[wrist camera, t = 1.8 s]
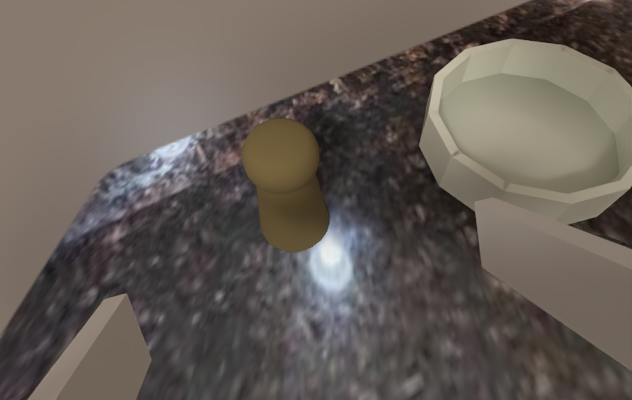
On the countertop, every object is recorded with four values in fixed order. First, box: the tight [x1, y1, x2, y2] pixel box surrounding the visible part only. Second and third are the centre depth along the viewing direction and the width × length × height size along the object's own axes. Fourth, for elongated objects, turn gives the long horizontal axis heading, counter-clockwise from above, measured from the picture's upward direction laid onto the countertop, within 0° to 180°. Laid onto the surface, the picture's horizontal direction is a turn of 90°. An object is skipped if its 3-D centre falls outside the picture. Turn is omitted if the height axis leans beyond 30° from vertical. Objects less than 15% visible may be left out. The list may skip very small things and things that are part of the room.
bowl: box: [419, 39, 632, 225], centre depth 36 cm, size 18×18×4 cm
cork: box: [242, 118, 329, 252], centre depth 30 cm, size 6×6×11 cm
